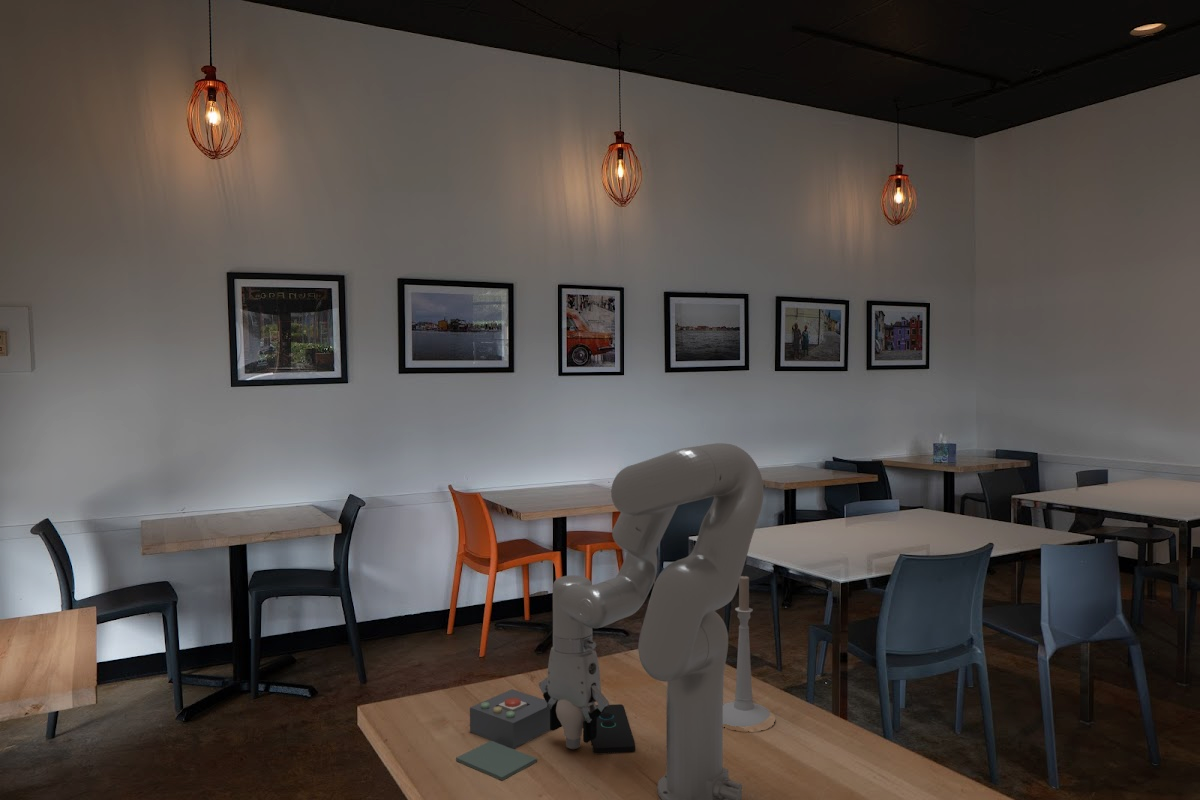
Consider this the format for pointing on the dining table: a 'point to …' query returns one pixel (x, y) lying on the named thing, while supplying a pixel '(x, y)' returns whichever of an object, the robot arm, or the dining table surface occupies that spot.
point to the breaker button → (512, 704)
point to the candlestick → (744, 671)
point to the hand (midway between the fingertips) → (573, 733)
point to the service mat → (496, 760)
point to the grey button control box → (510, 719)
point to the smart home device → (613, 732)
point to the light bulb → (570, 722)
